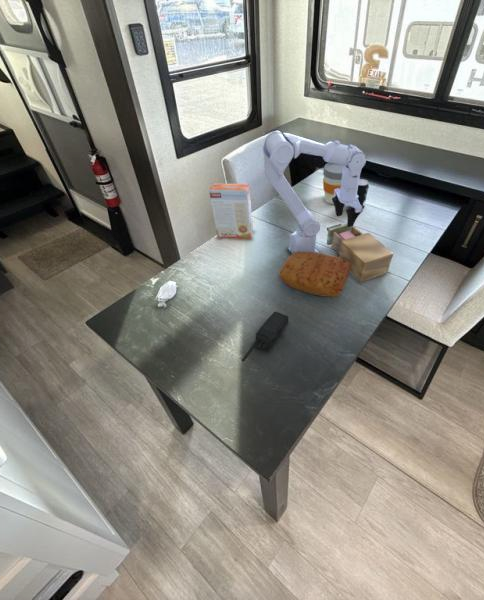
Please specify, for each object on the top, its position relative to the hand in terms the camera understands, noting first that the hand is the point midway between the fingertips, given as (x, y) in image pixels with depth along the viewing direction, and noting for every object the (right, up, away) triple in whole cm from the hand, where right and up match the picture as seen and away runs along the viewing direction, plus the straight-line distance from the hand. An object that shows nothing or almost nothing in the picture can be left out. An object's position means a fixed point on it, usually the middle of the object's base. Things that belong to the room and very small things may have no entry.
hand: (344, 220), depth 115 cm
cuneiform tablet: (-12, -23, -7) cm, 27 cm away
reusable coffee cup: (+3, +18, +32) cm, 37 cm away
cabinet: (+6, -17, -2) cm, 18 cm away
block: (+1, -8, +4) cm, 9 cm away
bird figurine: (-61, -28, -10) cm, 68 cm away
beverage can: (+12, +13, +26) cm, 31 cm away
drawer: (+1, -8, +5) cm, 10 cm away
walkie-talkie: (-28, -42, -25) cm, 57 cm away
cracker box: (-42, -2, +14) cm, 44 cm away
